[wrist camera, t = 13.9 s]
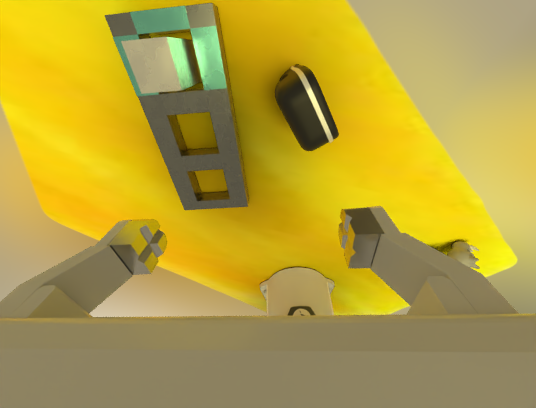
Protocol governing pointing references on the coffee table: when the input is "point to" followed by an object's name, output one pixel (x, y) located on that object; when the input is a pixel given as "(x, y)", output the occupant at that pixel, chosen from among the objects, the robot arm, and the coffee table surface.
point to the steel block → (163, 63)
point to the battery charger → (305, 108)
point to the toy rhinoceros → (463, 254)
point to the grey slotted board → (190, 103)
